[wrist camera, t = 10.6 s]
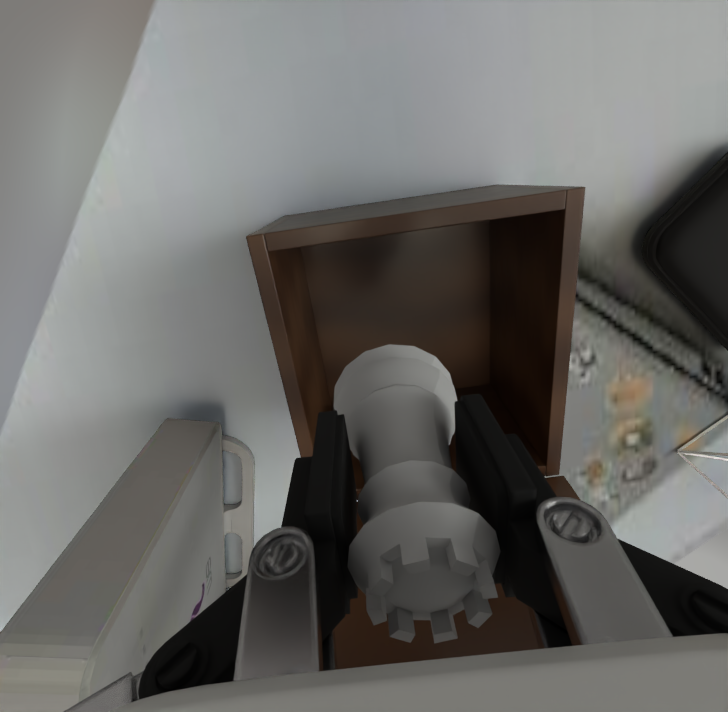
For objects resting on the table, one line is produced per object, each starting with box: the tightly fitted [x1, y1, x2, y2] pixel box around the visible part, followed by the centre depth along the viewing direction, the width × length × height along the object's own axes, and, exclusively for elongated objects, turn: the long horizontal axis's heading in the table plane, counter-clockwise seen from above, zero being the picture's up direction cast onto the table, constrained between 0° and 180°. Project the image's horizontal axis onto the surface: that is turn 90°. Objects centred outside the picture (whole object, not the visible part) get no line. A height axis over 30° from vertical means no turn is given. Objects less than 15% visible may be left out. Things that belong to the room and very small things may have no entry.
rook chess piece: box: [333, 344, 501, 643], centre depth 11 cm, size 4×4×8 cm
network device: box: [0, 418, 255, 712], centre depth 28 cm, size 26×9×20 cm, turn 173°
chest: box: [246, 185, 585, 500], centre depth 25 cm, size 16×15×11 cm
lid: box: [334, 476, 580, 669], centre depth 16 cm, size 16×15×6 cm
